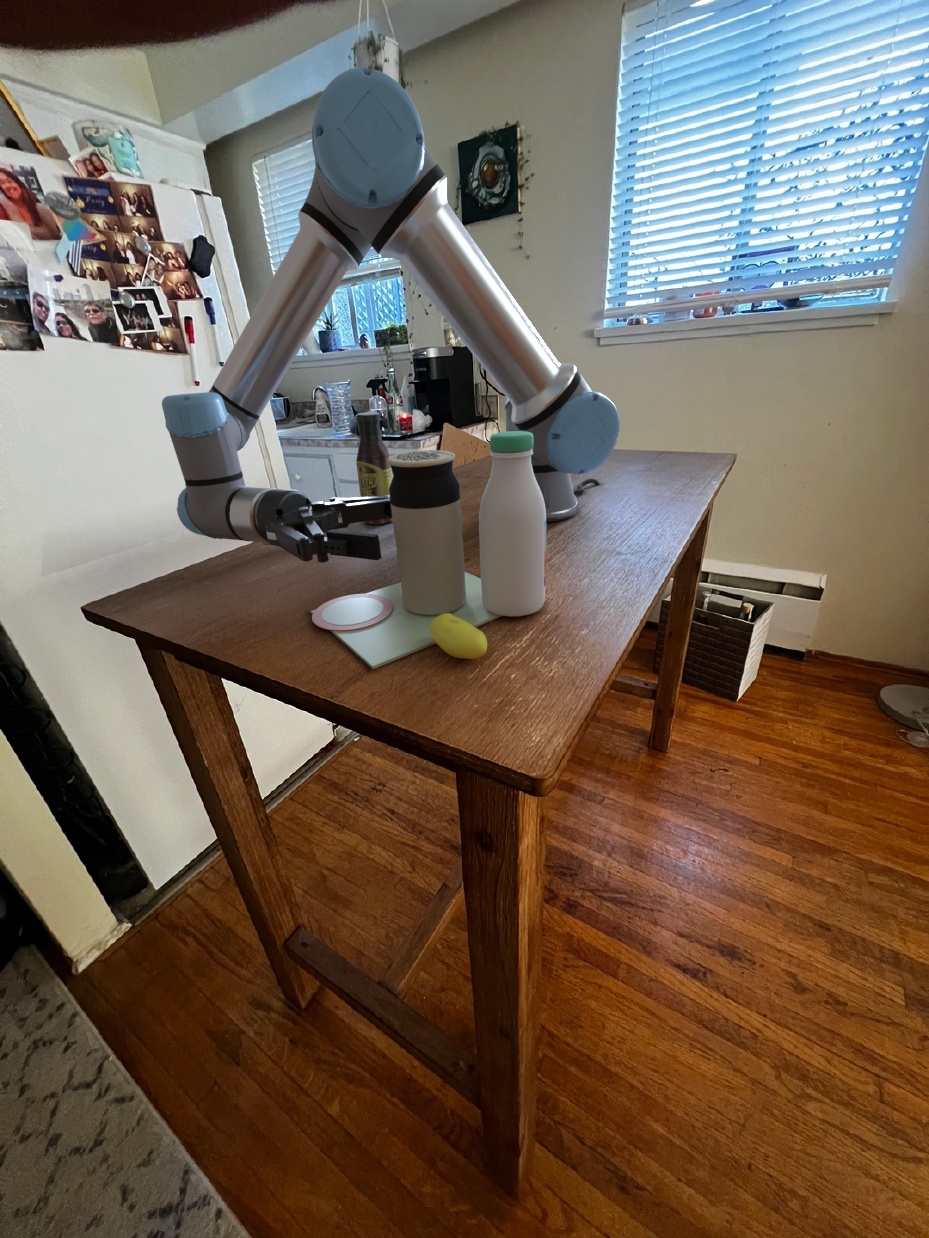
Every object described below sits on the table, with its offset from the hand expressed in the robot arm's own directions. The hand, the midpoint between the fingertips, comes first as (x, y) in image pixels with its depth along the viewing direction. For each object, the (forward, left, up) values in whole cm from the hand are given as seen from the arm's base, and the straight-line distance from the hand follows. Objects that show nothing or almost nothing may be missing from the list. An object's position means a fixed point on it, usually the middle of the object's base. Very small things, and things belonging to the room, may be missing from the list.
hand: (409, 528), depth 60 cm
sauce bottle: (-14, -37, -10) cm, 41 cm away
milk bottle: (-8, +9, -10) cm, 16 cm away
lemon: (+3, +13, -10) cm, 17 cm away
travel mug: (-1, +2, -10) cm, 10 cm away
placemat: (+1, +2, -10) cm, 10 cm away
